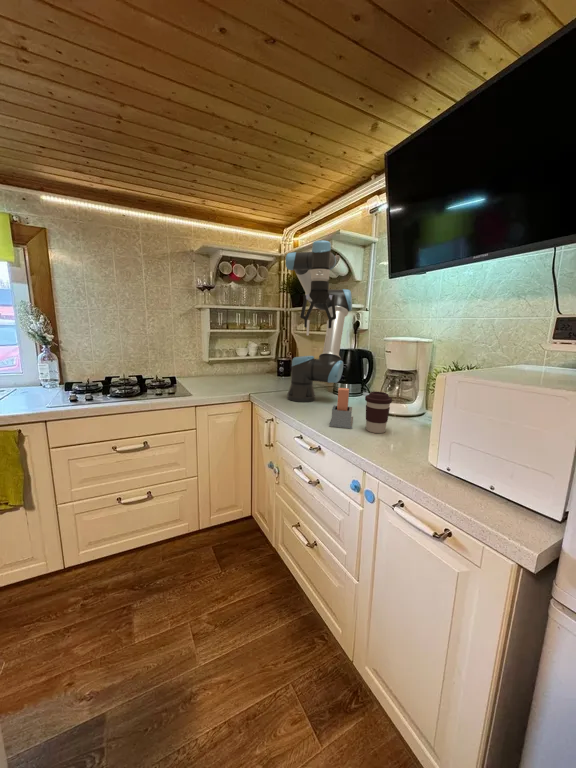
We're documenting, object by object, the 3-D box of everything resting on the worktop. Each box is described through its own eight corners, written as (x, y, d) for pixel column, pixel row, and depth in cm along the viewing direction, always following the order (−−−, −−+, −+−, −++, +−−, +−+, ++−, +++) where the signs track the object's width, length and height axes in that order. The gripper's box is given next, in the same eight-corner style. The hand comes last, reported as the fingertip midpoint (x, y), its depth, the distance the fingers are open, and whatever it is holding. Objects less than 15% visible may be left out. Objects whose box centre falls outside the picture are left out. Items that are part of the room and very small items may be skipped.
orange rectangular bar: (336, 423, 129) (338, 389, 126) (336, 420, 133) (339, 387, 130) (346, 424, 128) (348, 390, 125) (346, 421, 132) (349, 388, 129)
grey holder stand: (332, 415, 143) (334, 387, 140) (353, 417, 141) (355, 389, 139) (329, 426, 128) (331, 395, 125) (352, 429, 126) (354, 396, 123)
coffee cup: (393, 430, 125) (396, 393, 123) (381, 436, 118) (385, 397, 115) (370, 424, 132) (373, 389, 129) (357, 430, 125) (360, 392, 122)
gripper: (294, 279, 132) (292, 335, 137) (344, 280, 129) (341, 337, 133) (297, 281, 139) (295, 334, 144) (345, 282, 136) (341, 336, 141)
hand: (317, 335), depth 139 cm, fingers open, 8 cm apart
